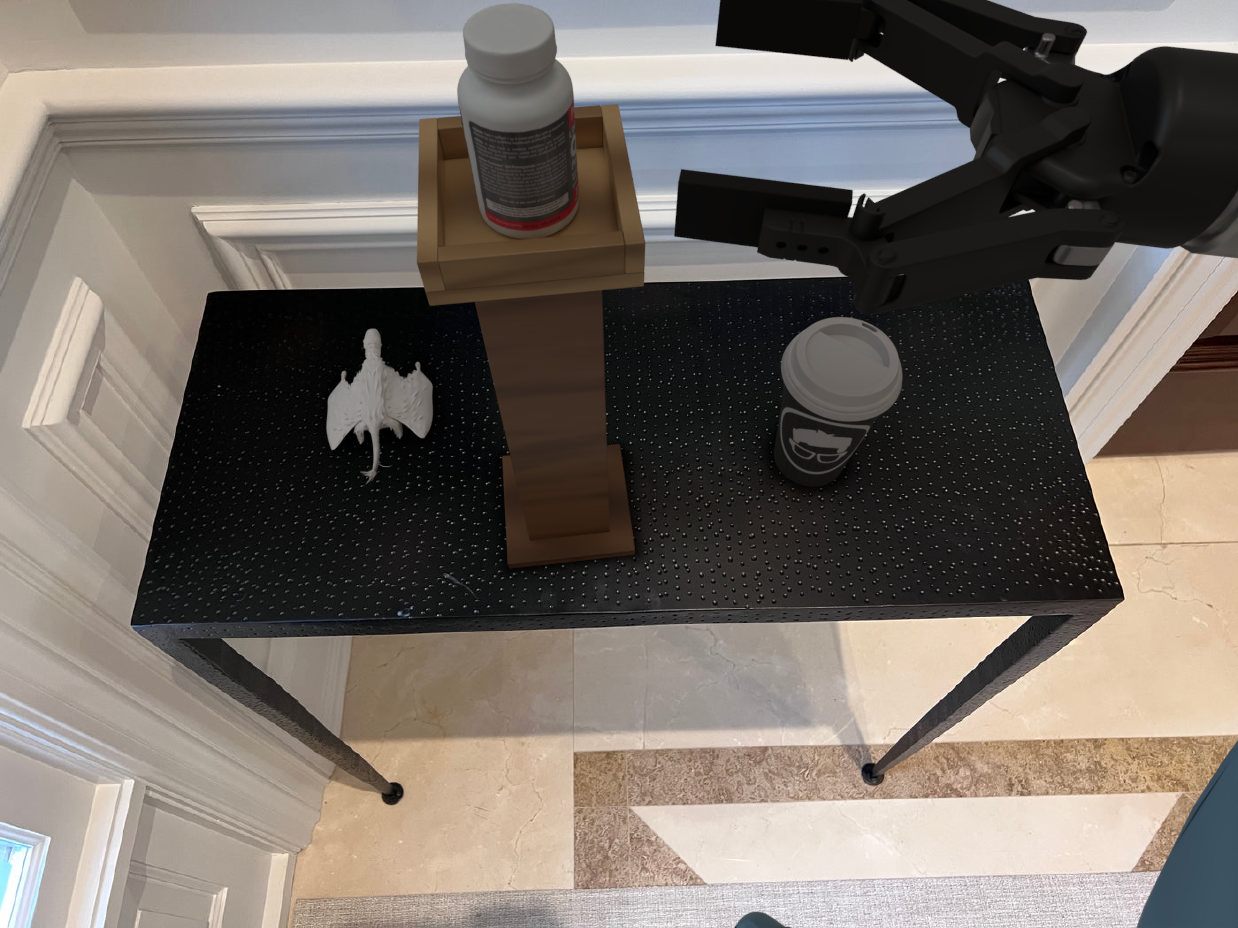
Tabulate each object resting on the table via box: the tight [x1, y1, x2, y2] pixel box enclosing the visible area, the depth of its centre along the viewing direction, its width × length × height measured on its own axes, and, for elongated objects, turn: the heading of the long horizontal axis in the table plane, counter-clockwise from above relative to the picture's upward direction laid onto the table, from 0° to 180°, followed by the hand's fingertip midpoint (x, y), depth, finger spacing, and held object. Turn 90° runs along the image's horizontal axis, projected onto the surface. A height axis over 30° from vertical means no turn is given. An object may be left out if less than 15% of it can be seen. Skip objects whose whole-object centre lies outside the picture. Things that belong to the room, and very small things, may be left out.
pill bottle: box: [456, 2, 579, 239], centre depth 38 cm, size 5×5×10 cm
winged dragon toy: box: [326, 328, 434, 485], centre depth 75 cm, size 18×10×4 cm, turn 9°
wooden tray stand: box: [416, 103, 646, 569], centre depth 56 cm, size 11×11×36 cm
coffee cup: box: [773, 316, 903, 488], centre depth 68 cm, size 10×10×15 cm
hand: (699, 99), depth 35 cm, fingers open, 13 cm apart
